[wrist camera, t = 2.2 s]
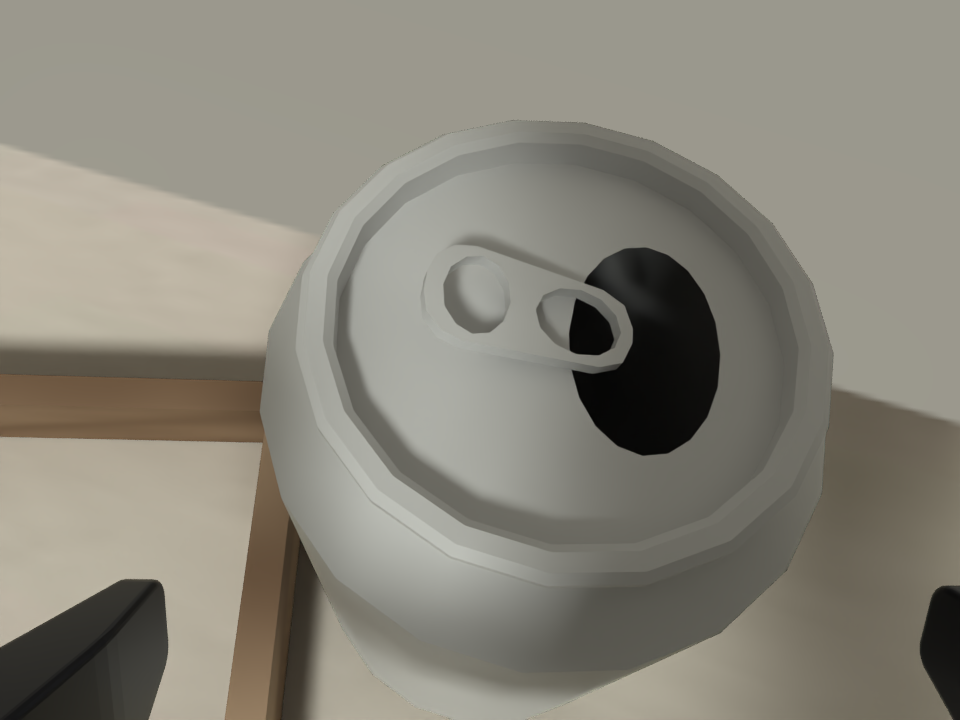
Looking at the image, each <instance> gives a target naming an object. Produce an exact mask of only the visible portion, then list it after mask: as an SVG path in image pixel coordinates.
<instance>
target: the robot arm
mask: <svg viewBox="0 0 960 720" xmlns="http://www.w3.org/2000/svg"><path fill="white" fill-rule="evenodd" d="M167 655H168V634H167V621H166V608H165V595H164V589H163V586H162V584H161V583H160V582H159V581H158V580H153V579H125V580H120V581H118V582H116V583H115V584H113V585H111V586H109V587H108V588H106V589H104V590H102V591H100V592H99V593H97V594H95V595H93V596H91V597H90V598H88V599H86V600H84V601H82V602H81V603H79V604H77V605H75V606H74V607H72V608H70V609H68V610H66V611H65V612H63V613H61V614H59V615H57V616H56V617H54V618H52V619H50V620H48V621H47V622H45V623H43V624H41V625H40V626H38V627H36V628H34V629H32V630H31V631H29V632H27V633H25V634H23V635H22V636H20V637H18V638H16V639H14V640H13V641H11V642H9V643H7V644H5V645H4V646H2V647H0V720H149V716H150V713H151V710H152V707H153V704H154V701H155V697H156V694H157V691H158V688H159V685H160V682H161V679H162V675H163V672H164V669H165V666H166V661H167ZM920 656H921V660H922V663H923V666H924V668H925V670H926V672H927V674H928V675H929V677H930V679H931V681H932V682H933V684H934V686H935V688H936V690H937V691H938V693H939V695H940V697H941V699H942V700H943V702H944V704H945V706H946V708H947V709H948V711H949V713H950V715H951V716H952V718H953V720H960V586H941V587H939V588H938V589H936V590H935V592H934V593H933V595H932V597H931V601H930V605H929V609H928V613H927V617H926V621H925V625H924V629H923V633H922V637H921V641H920Z"/></svg>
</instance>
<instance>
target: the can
mask: <svg viewBox="0 0 960 720" xmlns="http://www.w3.org/2000/svg"><path fill="white" fill-rule="evenodd" d="M832 368H833V350H832V347H831V344H830V340H829V337H828V333H827V330H826V327H825V323H824V320H823V317H822V313H821V310H820V307H819V303H818V300H817V296H816V293H815V289H814V286H813V283H812V282H811V280H810V279H809V278H808V276H807V274H806V273H805V271H804V270H803V269H802V267H801V265H800V264H799V262H798V261H797V259H796V258H795V257H794V255H793V253H792V252H791V250H790V249H789V247H788V246H787V244H786V243H785V241H784V240H783V238H782V237H781V235H780V234H779V232H778V231H777V229H776V228H775V226H774V225H773V223H771V222H770V221H769V220H768V219H767V218H766V217H765V216H763V215H762V214H761V213H760V212H759V211H758V210H757V209H756V208H754V207H753V206H752V205H751V204H750V203H749V202H748V201H746V200H745V199H744V198H743V197H742V196H741V195H740V194H738V193H737V192H736V191H735V190H734V189H733V188H732V187H730V186H729V185H728V184H727V183H726V182H725V181H724V180H723V179H721V178H720V177H719V176H718V175H716V174H714V173H713V172H711V171H709V170H707V169H705V168H703V167H701V166H699V165H697V164H695V163H694V162H692V161H690V160H688V159H686V158H684V157H682V156H680V155H678V154H677V153H674V152H673V151H671V150H669V149H667V148H665V147H663V146H661V145H659V144H657V143H656V142H654V141H651V140H647V139H643V138H639V137H636V136H632V135H628V134H625V133H621V132H617V131H613V130H610V129H606V128H602V127H598V126H595V125H591V124H587V123H577V122H549V121H521V120H511V121H506V122H502V123H496V124H492V125H487V126H482V127H477V128H472V129H467V130H463V131H458V132H453V133H448V134H444V135H442V136H440V137H438V138H436V139H434V140H432V141H430V142H428V143H426V144H424V145H422V146H420V147H418V148H416V149H414V150H412V151H410V152H408V153H406V154H404V155H402V156H400V157H398V158H396V159H394V160H392V161H390V162H388V163H386V164H384V165H382V166H381V167H380V168H379V169H378V170H377V171H376V172H375V173H374V174H373V175H372V176H371V177H370V178H369V179H368V180H367V181H366V182H365V183H364V184H363V185H362V186H361V187H359V189H357V190H356V191H355V192H354V193H353V194H352V195H351V196H350V197H349V198H348V199H347V200H346V201H345V202H344V203H343V204H342V205H341V206H340V207H339V208H338V209H337V210H336V211H335V212H334V213H333V214H332V216H331V218H330V221H329V222H328V224H327V226H326V228H325V231H324V233H323V234H322V236H321V238H320V240H319V242H318V244H317V246H316V248H315V250H314V252H313V253H312V254H311V255H310V256H309V257H308V258H307V259H306V260H305V261H304V262H303V264H302V266H301V268H300V270H299V272H298V274H297V276H296V278H295V280H294V282H293V284H292V286H291V288H290V290H289V292H288V294H287V296H286V298H285V300H284V302H283V304H282V306H281V308H280V310H279V312H278V314H277V316H276V318H275V320H274V322H273V324H272V326H271V328H270V330H269V335H268V343H267V352H266V361H265V369H264V378H263V387H262V396H261V404H260V415H261V419H262V423H263V427H264V431H265V435H266V439H267V443H268V447H269V451H270V455H271V459H272V463H273V467H274V471H275V475H276V479H277V483H278V487H279V491H280V495H281V498H282V500H283V503H284V505H285V507H286V509H287V511H288V513H289V515H290V518H291V520H292V522H293V524H294V526H295V528H296V530H297V533H298V535H299V537H300V539H301V541H302V543H303V545H304V548H305V550H306V552H307V554H308V556H309V558H310V560H311V563H312V565H313V567H314V569H315V571H316V573H317V575H318V578H319V580H320V582H321V584H322V586H323V588H324V590H325V593H326V595H327V597H328V599H329V601H330V603H331V605H332V608H333V610H334V612H335V614H336V616H337V618H338V620H339V623H340V625H341V627H342V629H343V631H344V632H345V634H346V635H347V637H348V638H349V640H350V641H351V643H352V645H353V646H354V648H355V649H356V651H357V652H358V654H359V655H360V657H361V658H362V660H363V661H364V663H365V664H366V666H367V667H368V669H369V670H370V672H371V673H372V675H374V676H375V677H376V678H378V679H379V680H380V681H381V682H383V683H384V684H385V685H387V686H388V687H389V688H391V689H392V690H393V691H395V692H396V693H397V694H398V695H400V696H401V697H402V698H404V699H405V700H406V701H408V702H409V703H410V704H412V705H413V706H414V707H416V708H419V709H422V710H425V711H428V712H431V713H434V714H437V715H440V716H444V717H447V718H450V719H453V720H527V719H529V718H532V717H534V716H537V715H539V714H542V713H544V712H547V711H549V710H552V709H554V708H556V707H559V706H561V705H564V704H566V703H569V702H571V701H573V700H575V699H578V698H580V697H582V696H584V695H586V694H588V693H591V692H593V691H595V690H597V689H599V688H602V687H604V686H606V685H608V684H610V683H612V682H615V681H617V680H619V679H621V678H623V677H626V676H628V675H630V674H632V673H634V672H636V671H639V670H641V669H643V668H645V667H647V666H650V665H652V664H654V663H656V662H658V661H660V660H663V659H665V658H667V657H669V656H671V655H674V654H676V653H678V652H680V651H682V650H684V649H687V648H689V647H691V646H693V645H695V644H698V643H700V642H702V641H704V640H706V639H708V638H711V637H713V636H715V635H717V634H719V633H721V632H722V631H723V630H724V629H725V628H726V627H727V626H728V625H729V624H730V623H731V622H732V621H734V620H735V619H736V618H737V617H738V616H739V615H740V614H741V613H742V612H743V611H744V610H745V609H746V608H747V607H748V606H749V605H750V604H752V603H753V602H754V601H755V600H756V599H757V598H758V597H759V596H760V595H761V594H762V593H763V592H764V591H765V590H766V589H767V588H769V587H770V586H771V585H772V584H773V583H774V582H775V581H776V580H777V579H778V578H779V577H780V576H781V575H782V574H783V573H784V572H785V571H787V568H788V566H789V564H790V562H791V560H792V558H793V555H794V553H795V551H796V549H797V547H798V545H799V542H800V540H801V538H802V536H803V534H804V531H805V529H806V527H807V525H808V523H809V521H810V518H811V516H812V514H813V512H814V510H815V508H816V505H817V503H818V501H819V499H820V497H821V495H822V486H823V470H824V454H825V438H826V432H827V430H828V428H829V419H830V402H831V386H832Z"/></svg>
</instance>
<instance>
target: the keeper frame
mask: <svg viewBox="0 0 960 720" xmlns="http://www.w3.org/2000/svg"><path fill="white" fill-rule="evenodd" d="M262 387H263V382H262V381H227V380H191V379H156V378H120V377H85V376H49V375H14V374H0V437H38V438H83V439H128V440H173V441H218V442H263V446H262V453H261V460H260V468H259V475H258V482H257V489H256V497H255V504H254V511H253V518H252V526H251V533H250V540H249V547H248V554H247V562H246V569H245V576H244V583H243V591H242V598H241V605H240V612H239V619H238V627H237V634H236V641H235V648H234V656H233V663H232V670H231V677H230V685H229V692H228V699H227V706H226V713H225V720H281V715H282V706H283V696H284V687H285V678H286V668H287V659H288V649H289V640H290V630H291V621H292V612H293V602H294V593H295V583H296V574H297V564H298V555H299V545H300V537H299V535H298V533H297V530H296V528H295V526H294V524H293V522H292V520H291V518H290V515H289V513H288V511H287V509H286V507H285V505H284V503H283V500H282V498H281V495H280V491H279V487H278V483H277V479H276V475H275V471H274V467H273V463H272V459H271V455H270V451H269V447H268V443H267V439H266V435H265V431H264V427H263V423H262V419H261V415H260V404H261V396H262Z"/></svg>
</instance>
